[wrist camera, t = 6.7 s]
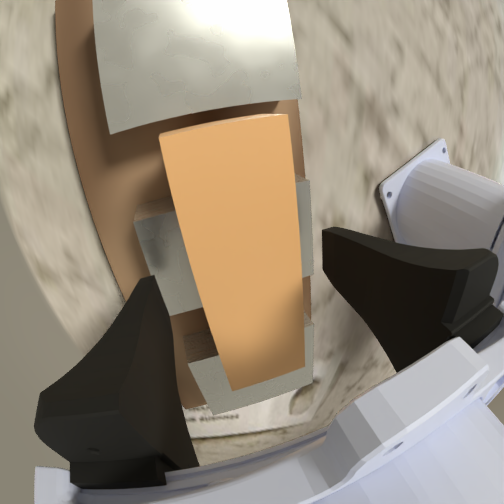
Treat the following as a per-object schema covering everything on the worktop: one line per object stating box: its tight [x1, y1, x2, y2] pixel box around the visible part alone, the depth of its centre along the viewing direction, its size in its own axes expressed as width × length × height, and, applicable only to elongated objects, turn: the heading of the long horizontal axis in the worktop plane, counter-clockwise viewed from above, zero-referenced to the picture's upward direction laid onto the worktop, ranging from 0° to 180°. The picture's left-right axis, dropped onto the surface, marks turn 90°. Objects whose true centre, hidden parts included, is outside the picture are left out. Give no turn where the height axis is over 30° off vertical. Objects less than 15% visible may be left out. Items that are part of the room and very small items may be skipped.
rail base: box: [55, 0, 311, 409], centre depth 16 cm, size 12×30×1 cm, turn 8°
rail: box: [92, 0, 314, 415], centre depth 14 cm, size 8×26×2 cm, turn 8°
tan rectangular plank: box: [159, 114, 305, 391], centre depth 13 cm, size 4×12×6 cm, turn 8°
